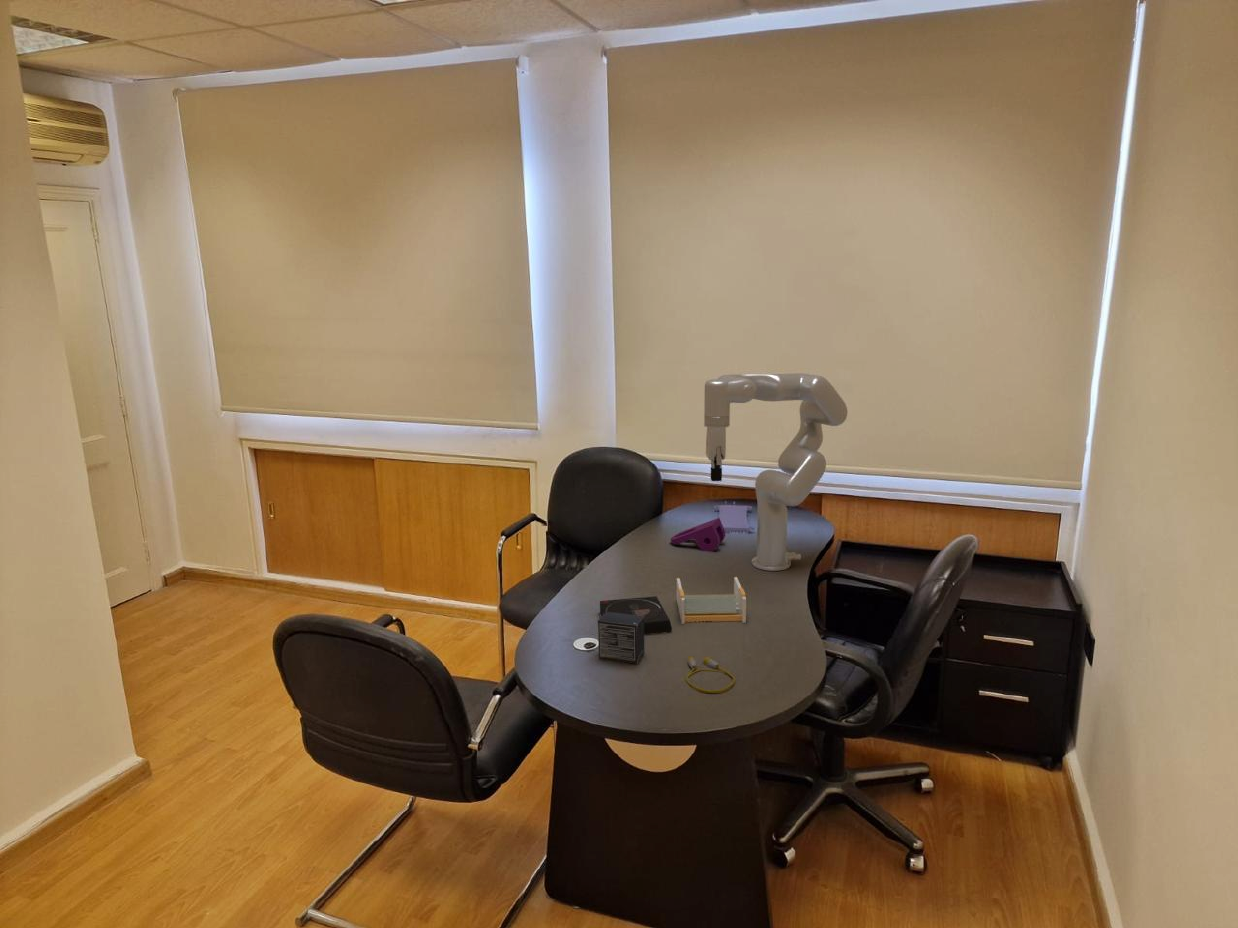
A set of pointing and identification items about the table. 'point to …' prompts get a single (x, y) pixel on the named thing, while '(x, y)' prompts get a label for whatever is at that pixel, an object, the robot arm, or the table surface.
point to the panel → (710, 605)
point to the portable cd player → (641, 612)
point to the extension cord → (709, 663)
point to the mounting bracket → (703, 535)
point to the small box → (621, 637)
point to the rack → (739, 610)
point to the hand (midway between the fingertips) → (716, 480)
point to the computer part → (734, 518)
